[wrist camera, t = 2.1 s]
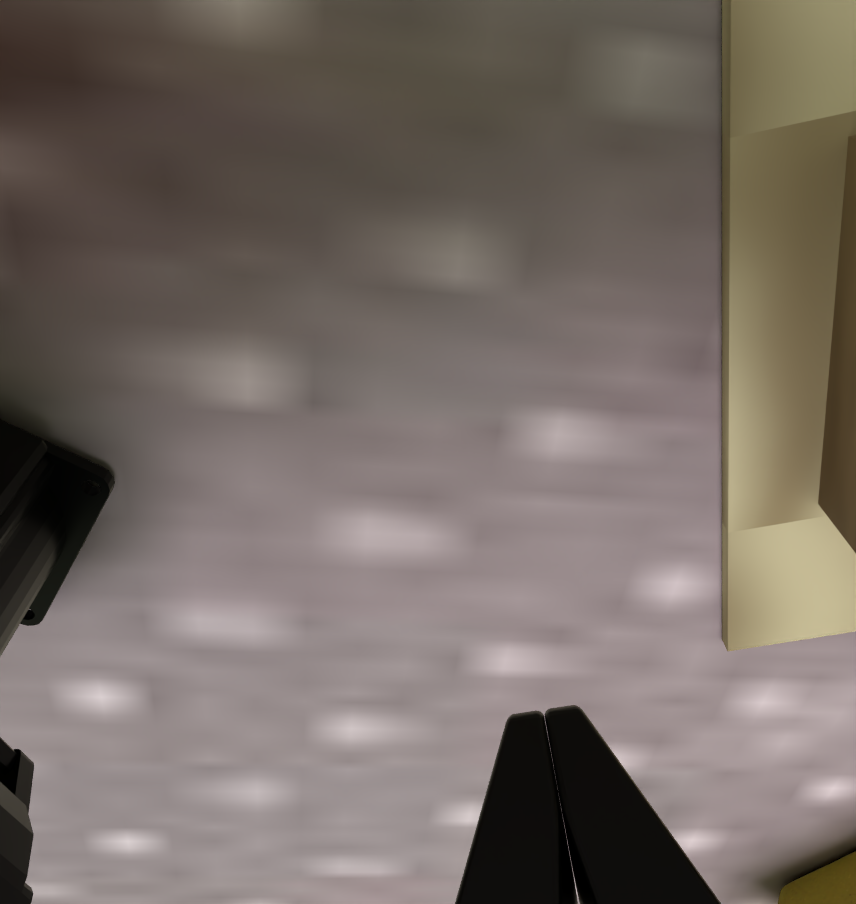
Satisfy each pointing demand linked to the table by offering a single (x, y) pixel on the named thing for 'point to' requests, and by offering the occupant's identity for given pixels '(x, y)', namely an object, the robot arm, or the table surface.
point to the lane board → (782, 313)
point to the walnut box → (842, 377)
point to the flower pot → (824, 885)
